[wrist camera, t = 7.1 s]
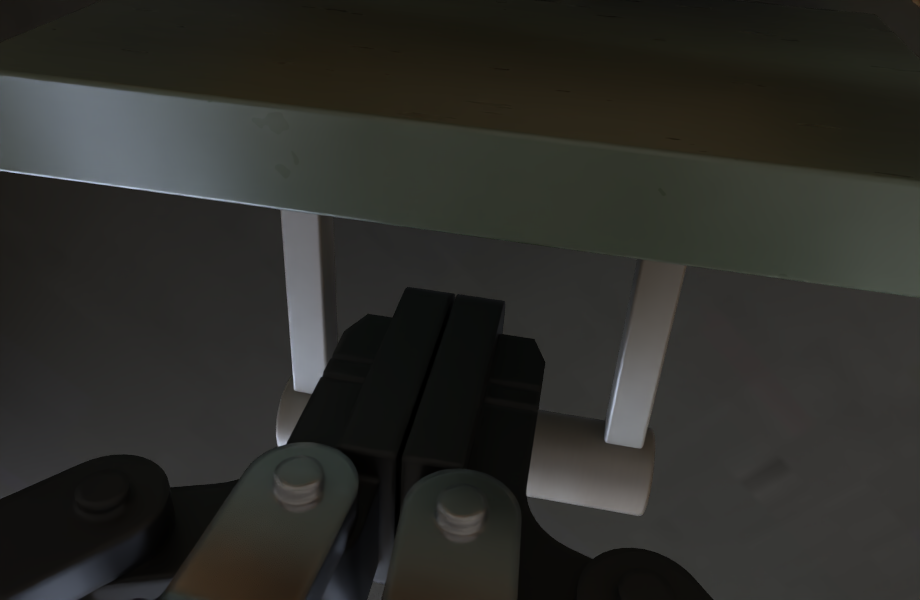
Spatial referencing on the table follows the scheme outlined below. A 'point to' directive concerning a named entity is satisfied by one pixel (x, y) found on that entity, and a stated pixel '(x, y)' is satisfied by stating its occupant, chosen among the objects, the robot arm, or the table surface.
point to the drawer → (502, 152)
